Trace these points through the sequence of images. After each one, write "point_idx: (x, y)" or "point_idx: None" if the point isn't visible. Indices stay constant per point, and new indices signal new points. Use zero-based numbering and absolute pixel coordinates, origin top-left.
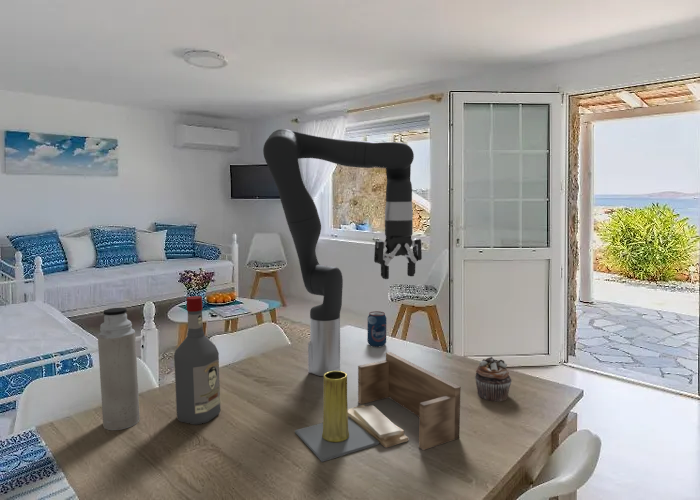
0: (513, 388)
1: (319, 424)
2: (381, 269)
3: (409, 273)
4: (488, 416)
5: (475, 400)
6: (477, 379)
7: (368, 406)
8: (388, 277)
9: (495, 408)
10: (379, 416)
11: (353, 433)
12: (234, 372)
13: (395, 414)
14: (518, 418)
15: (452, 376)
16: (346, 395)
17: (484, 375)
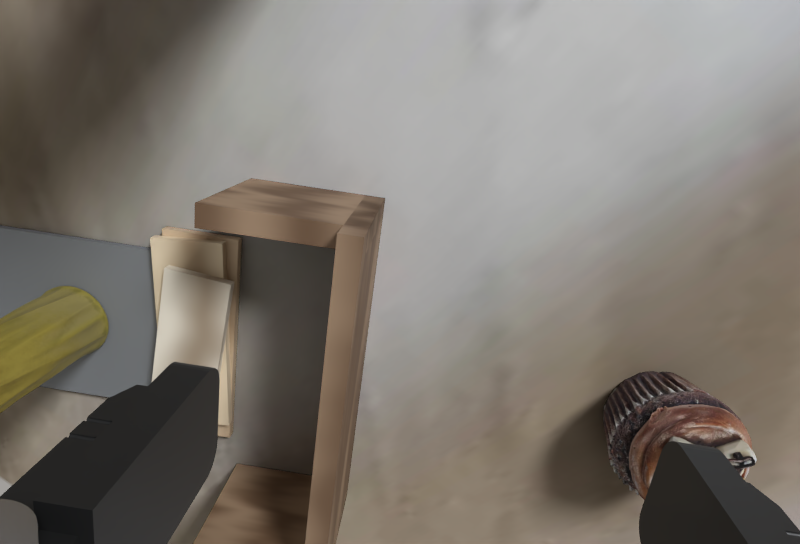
0: (756, 426)
1: (60, 240)
2: (45, 475)
3: (669, 505)
4: (505, 478)
5: (571, 402)
6: (623, 421)
7: (213, 283)
8: (201, 477)
9: (566, 465)
10: (203, 351)
11: (122, 338)
12: None
13: (299, 316)
14: (557, 528)
15: (707, 227)
16: (7, 407)
17: (630, 460)
